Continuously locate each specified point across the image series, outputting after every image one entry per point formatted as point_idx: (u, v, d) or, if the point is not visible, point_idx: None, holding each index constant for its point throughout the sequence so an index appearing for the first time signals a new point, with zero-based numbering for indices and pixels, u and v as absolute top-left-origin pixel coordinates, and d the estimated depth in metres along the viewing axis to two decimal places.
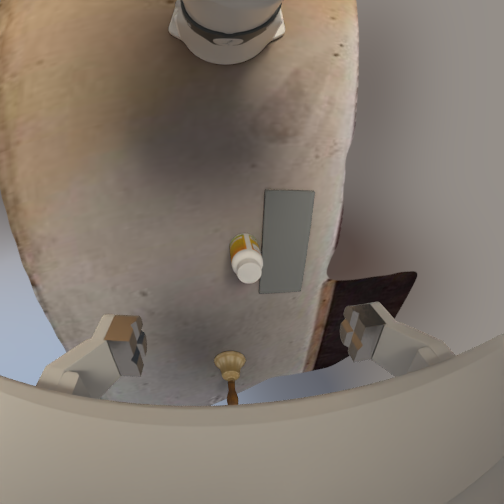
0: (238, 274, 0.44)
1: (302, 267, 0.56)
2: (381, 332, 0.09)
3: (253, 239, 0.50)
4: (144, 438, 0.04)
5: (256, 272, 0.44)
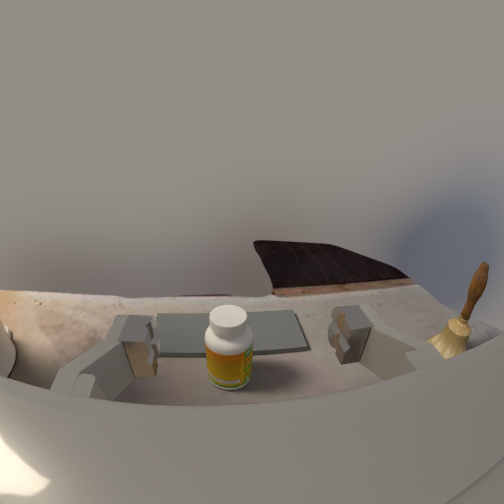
0: (230, 325, 0.27)
1: (256, 313, 0.43)
2: (368, 334, 0.09)
3: None
4: (144, 438, 0.04)
5: (227, 309, 0.29)
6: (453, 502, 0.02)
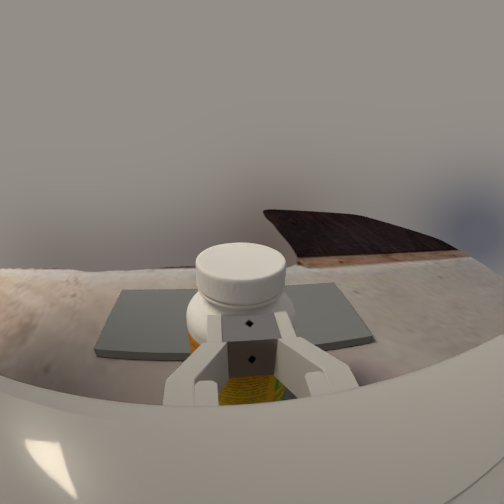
0: (248, 277, 0.11)
1: None
2: (276, 346, 0.09)
3: None
4: (144, 438, 0.04)
5: (237, 248, 0.13)
6: (453, 502, 0.02)
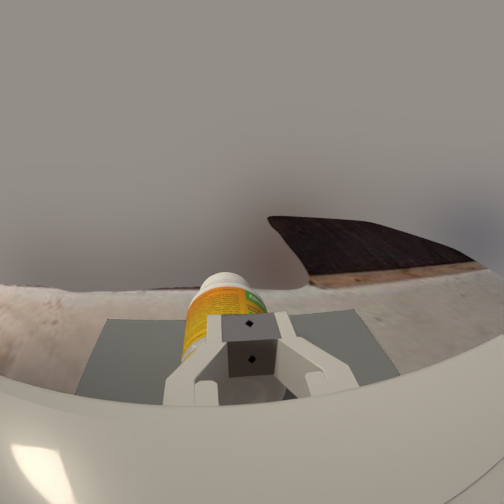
0: None
1: (291, 318, 0.23)
2: (277, 346, 0.09)
3: None
4: (144, 438, 0.04)
5: None
6: (453, 502, 0.02)
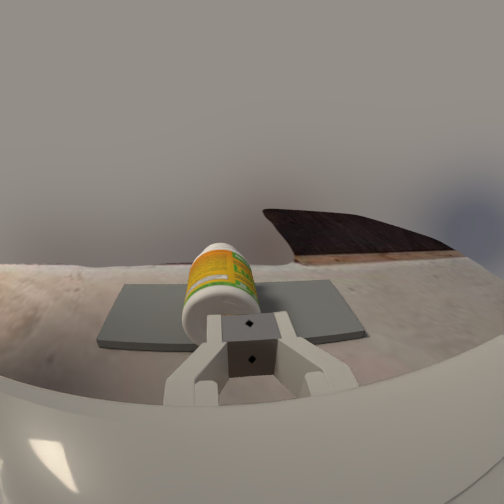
0: None
1: (275, 284, 0.28)
2: (276, 346, 0.09)
3: None
4: (144, 438, 0.04)
5: None
6: (453, 502, 0.02)
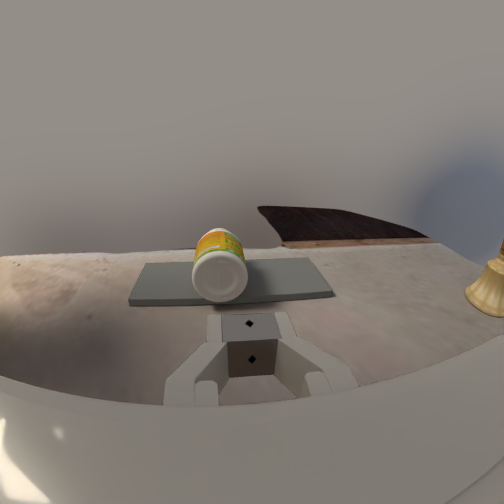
0: (214, 230, 0.34)
1: (265, 260, 0.36)
2: (276, 346, 0.09)
3: None
4: (144, 438, 0.04)
5: None
6: (453, 502, 0.02)
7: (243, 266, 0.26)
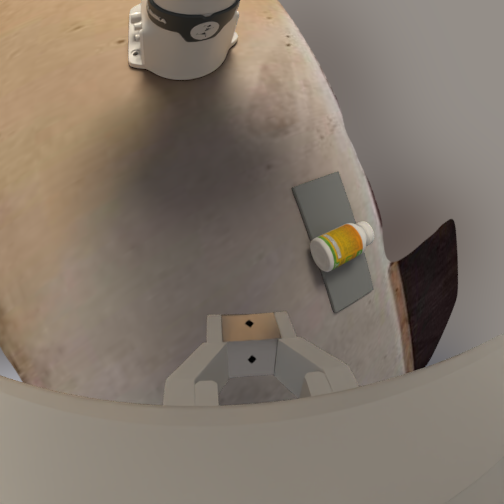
0: (372, 232, 0.40)
1: (364, 260, 0.46)
2: (276, 346, 0.09)
3: None
4: (144, 438, 0.04)
5: None
6: (453, 502, 0.02)
7: (327, 271, 0.40)
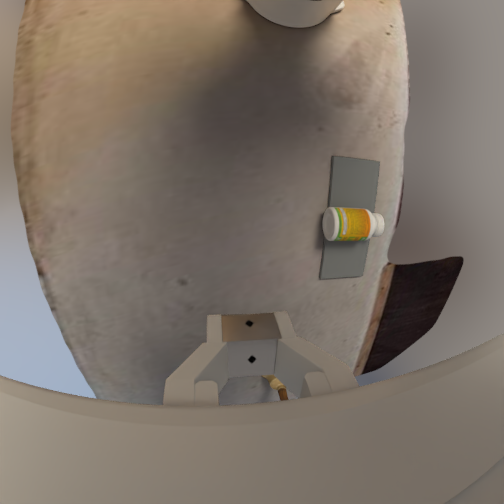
0: None
1: (366, 247, 0.48)
2: (277, 346, 0.09)
3: None
4: (144, 438, 0.04)
5: None
6: (453, 502, 0.02)
7: None
